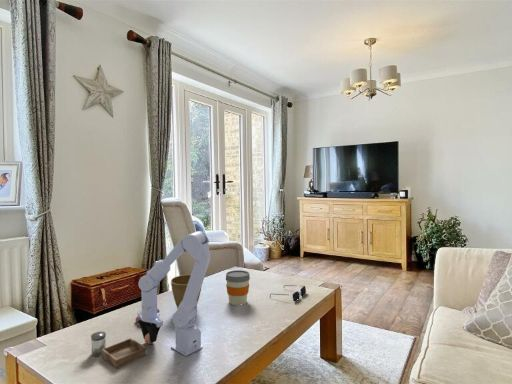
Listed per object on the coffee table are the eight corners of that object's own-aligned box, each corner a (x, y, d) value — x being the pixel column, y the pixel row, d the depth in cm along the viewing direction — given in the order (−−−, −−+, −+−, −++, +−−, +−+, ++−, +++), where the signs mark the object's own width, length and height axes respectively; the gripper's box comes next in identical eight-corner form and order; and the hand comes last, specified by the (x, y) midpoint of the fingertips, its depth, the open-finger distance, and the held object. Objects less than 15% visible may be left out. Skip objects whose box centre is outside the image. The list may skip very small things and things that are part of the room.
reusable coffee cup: (251, 298, 172) (251, 270, 172) (248, 307, 160) (248, 277, 159) (228, 297, 174) (228, 269, 173) (223, 306, 161) (223, 276, 161)
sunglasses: (294, 303, 165) (293, 294, 165) (269, 302, 173) (268, 292, 173) (307, 293, 180) (305, 284, 180) (283, 292, 187) (282, 284, 188)
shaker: (108, 352, 117) (108, 334, 117) (94, 358, 114) (94, 339, 113) (102, 348, 120) (102, 330, 120) (89, 353, 117) (88, 335, 117)
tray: (146, 355, 116) (146, 347, 116) (116, 368, 107) (116, 360, 107) (130, 345, 123) (130, 337, 123) (101, 357, 114) (101, 349, 114)
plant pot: (164, 314, 151) (164, 281, 150) (185, 304, 164) (185, 273, 163) (189, 321, 144) (188, 286, 143) (208, 309, 157) (208, 277, 157)
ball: (157, 343, 124) (157, 332, 124) (148, 347, 121) (148, 336, 121) (151, 339, 127) (151, 329, 127) (142, 343, 124) (142, 333, 124)
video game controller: (139, 328, 141) (143, 315, 139) (133, 321, 143) (137, 309, 141) (158, 320, 149) (162, 308, 146) (152, 313, 151) (156, 302, 149)
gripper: (169, 306, 122) (169, 341, 123) (148, 298, 131) (148, 330, 132) (152, 312, 117) (153, 349, 117) (132, 303, 126) (132, 336, 126)
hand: (149, 339), depth 124 cm, fingers open, 4 cm apart
